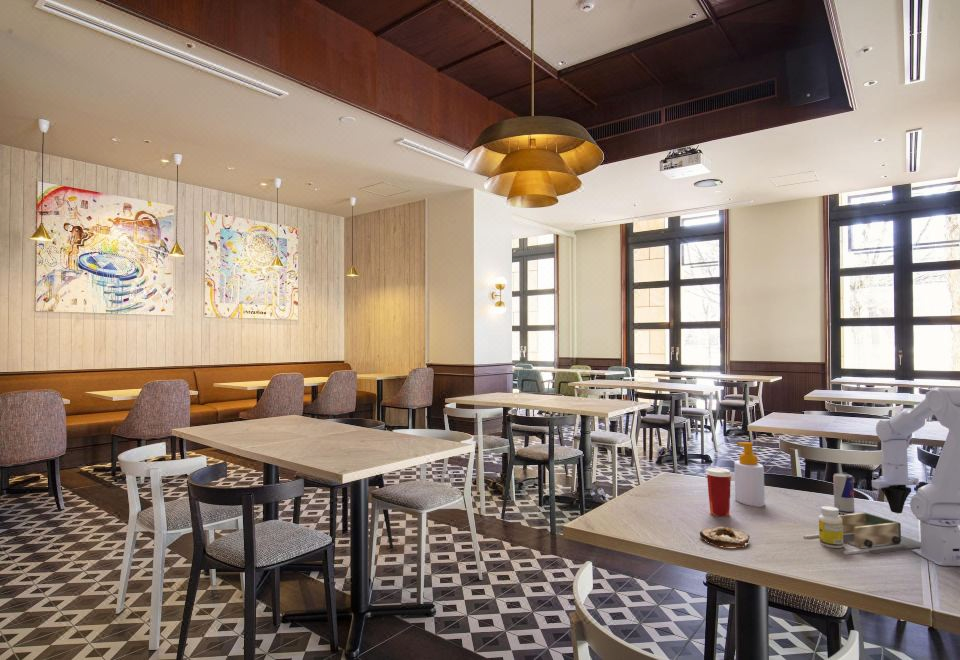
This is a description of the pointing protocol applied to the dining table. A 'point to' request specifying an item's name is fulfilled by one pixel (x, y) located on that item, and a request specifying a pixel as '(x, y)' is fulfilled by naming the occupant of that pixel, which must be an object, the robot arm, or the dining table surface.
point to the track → (875, 549)
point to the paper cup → (719, 490)
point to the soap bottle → (749, 478)
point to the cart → (871, 529)
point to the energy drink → (844, 493)
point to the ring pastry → (725, 536)
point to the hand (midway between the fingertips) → (896, 512)
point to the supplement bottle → (830, 527)
